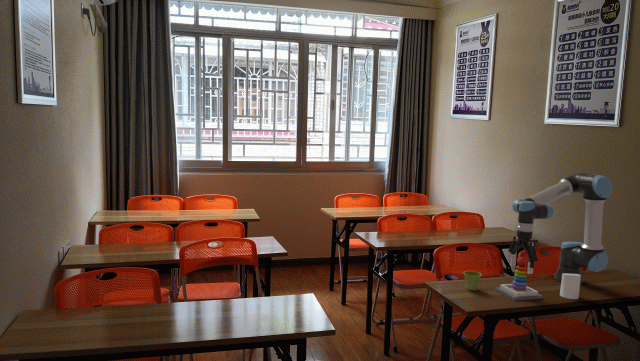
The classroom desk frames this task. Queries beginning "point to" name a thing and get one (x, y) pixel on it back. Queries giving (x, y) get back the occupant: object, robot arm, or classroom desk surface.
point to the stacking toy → (520, 276)
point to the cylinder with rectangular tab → (570, 286)
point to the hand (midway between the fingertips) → (521, 269)
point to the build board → (518, 293)
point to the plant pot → (472, 280)
